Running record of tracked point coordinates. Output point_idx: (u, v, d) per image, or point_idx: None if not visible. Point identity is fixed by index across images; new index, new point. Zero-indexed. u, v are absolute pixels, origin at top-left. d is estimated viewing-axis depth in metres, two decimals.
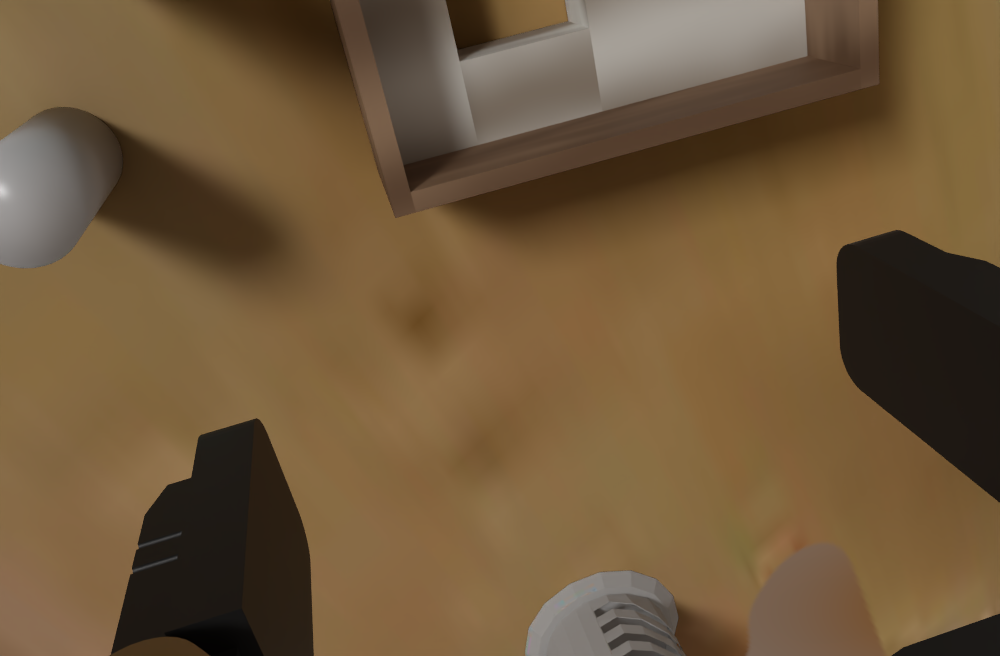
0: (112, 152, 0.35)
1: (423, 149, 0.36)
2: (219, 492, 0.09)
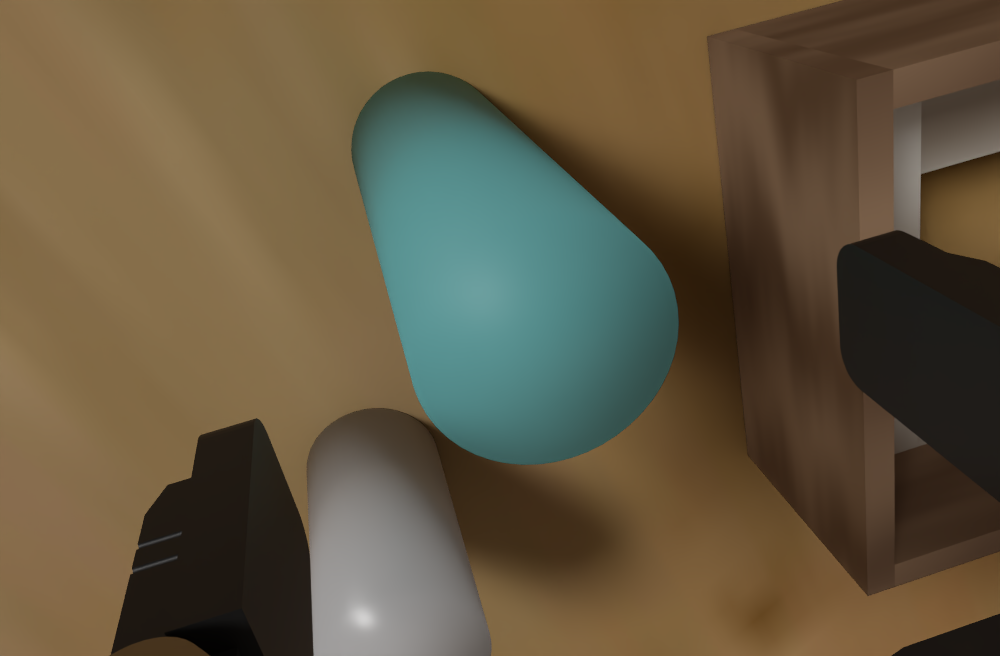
0: (444, 475, 0.26)
1: None
2: (219, 492, 0.09)
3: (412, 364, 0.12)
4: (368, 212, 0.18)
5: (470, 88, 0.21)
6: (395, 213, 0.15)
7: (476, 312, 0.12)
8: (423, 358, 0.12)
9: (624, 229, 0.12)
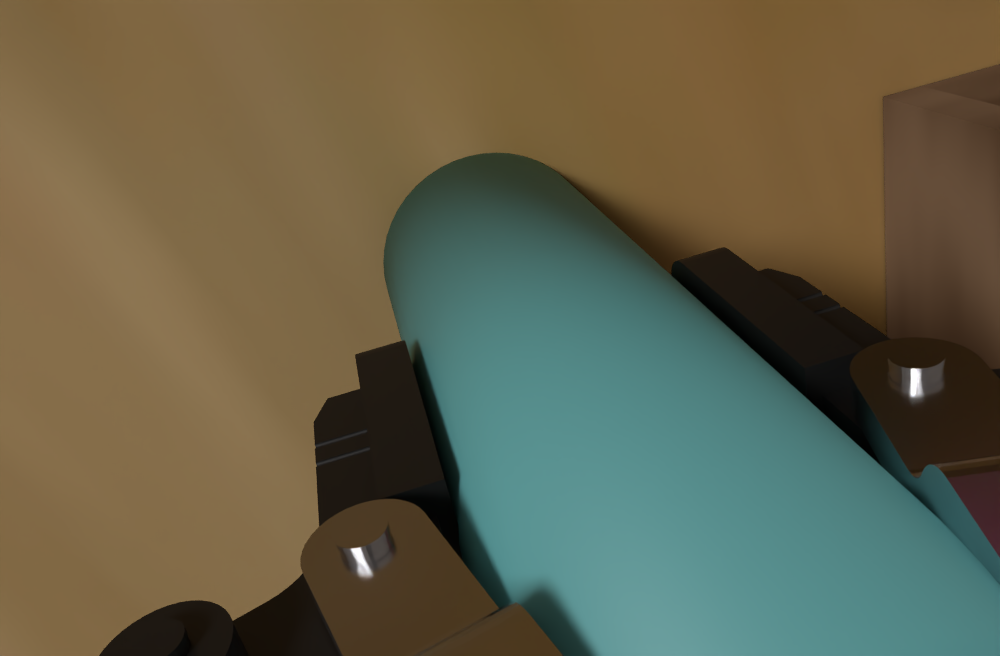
0: None
1: None
2: (391, 396, 0.10)
3: None
4: None
5: (561, 182, 0.15)
6: (491, 474, 0.08)
7: None
8: None
9: None
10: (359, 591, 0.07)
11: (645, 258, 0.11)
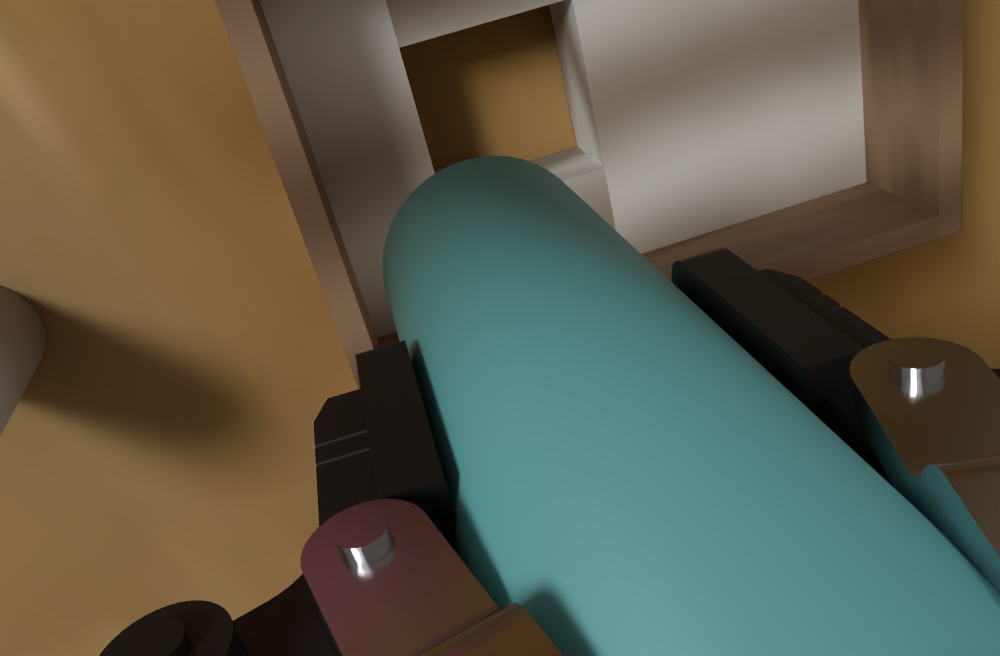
0: (28, 337, 0.29)
1: None
2: (391, 396, 0.10)
3: None
4: None
5: (559, 185, 0.15)
6: (488, 479, 0.08)
7: None
8: None
9: None
10: (359, 591, 0.07)
11: (643, 262, 0.11)
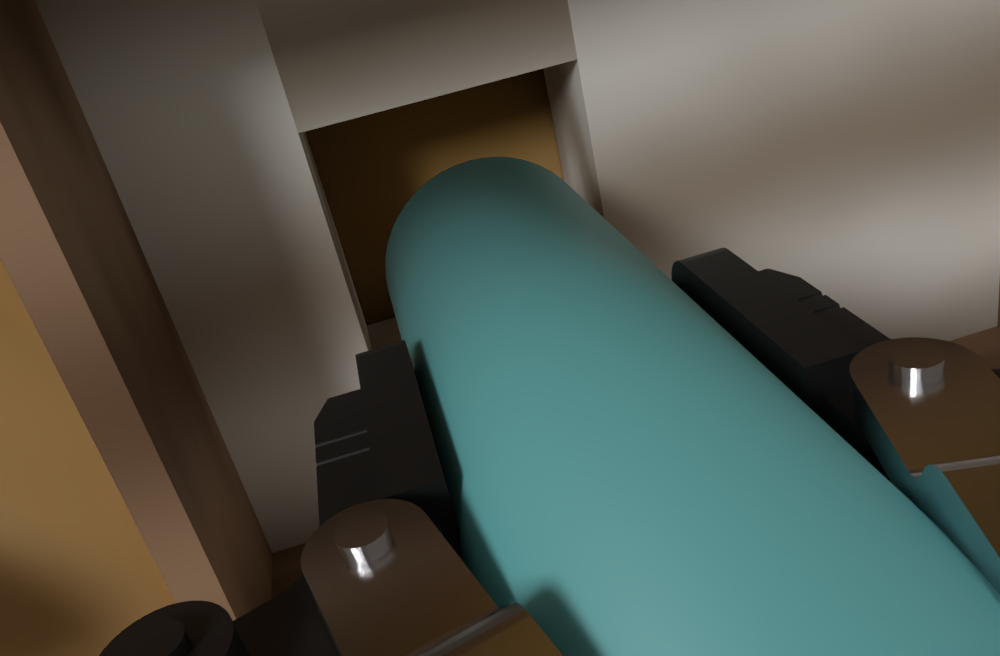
0: None
1: (317, 523, 0.20)
2: (391, 395, 0.10)
3: None
4: None
5: (562, 186, 0.15)
6: (493, 481, 0.08)
7: None
8: None
9: None
10: (359, 591, 0.07)
11: (646, 263, 0.11)
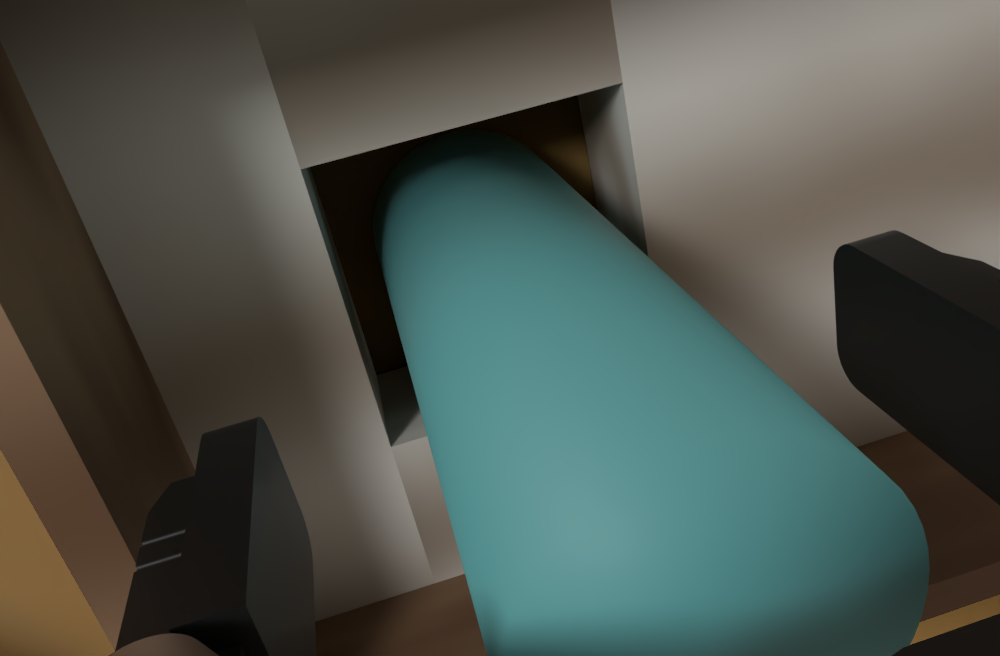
0: None
1: (321, 602, 0.18)
2: (222, 490, 0.09)
3: None
4: (403, 336, 0.13)
5: (528, 153, 0.17)
6: (452, 372, 0.10)
7: (613, 600, 0.07)
8: None
9: (861, 459, 0.07)
10: None
11: (592, 212, 0.13)
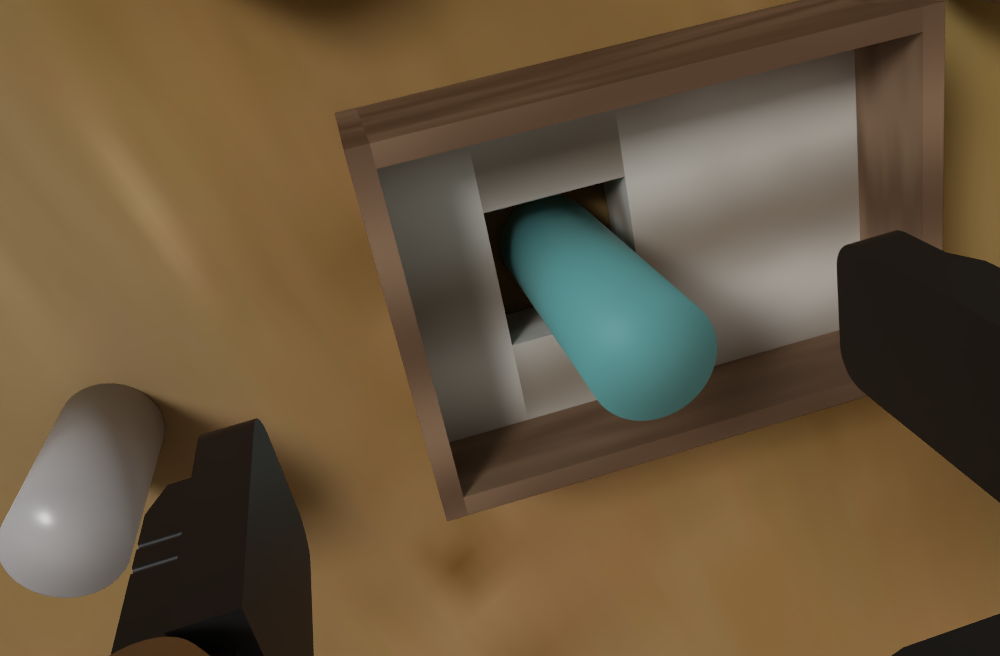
0: (156, 433, 0.34)
1: (472, 426, 0.36)
2: (219, 492, 0.09)
3: (588, 367, 0.25)
4: (530, 285, 0.31)
5: (579, 206, 0.35)
6: (562, 289, 0.28)
7: (620, 342, 0.25)
8: (594, 364, 0.25)
9: (692, 303, 0.25)
10: None
11: (611, 233, 0.32)
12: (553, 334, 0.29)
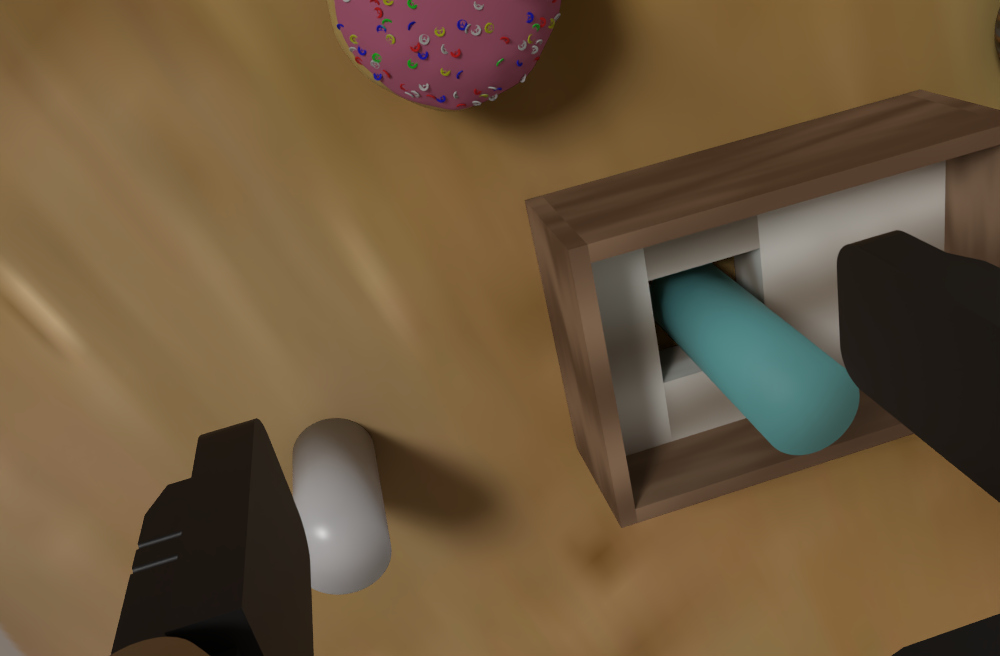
0: (375, 459, 0.43)
1: (628, 447, 0.44)
2: (219, 492, 0.09)
3: (764, 417, 0.33)
4: (690, 340, 0.39)
5: (717, 268, 0.43)
6: (729, 350, 0.36)
7: (789, 398, 0.33)
8: (768, 415, 0.33)
9: (843, 367, 0.33)
10: None
11: (754, 297, 0.39)
12: (717, 383, 0.37)
